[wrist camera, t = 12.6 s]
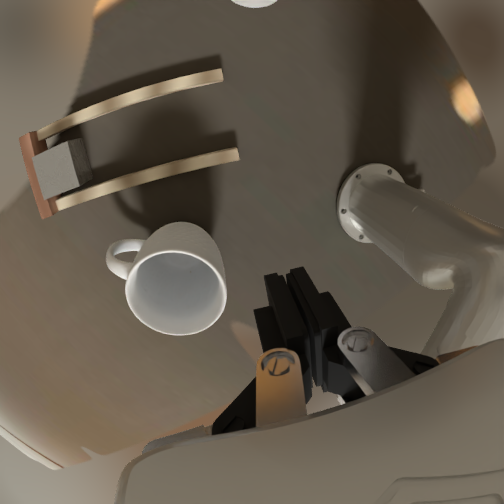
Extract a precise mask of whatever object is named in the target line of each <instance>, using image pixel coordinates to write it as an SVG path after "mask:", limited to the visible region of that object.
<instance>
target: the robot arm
mask: <svg viewBox="0 0 504 504" xmlns="http://www.w3.org/2000/svg"><path fill="white" fill-rule="evenodd" d="M356 175H357V177H356ZM342 209H343V210H342ZM341 210H342V211H341ZM337 216H338V220H339V222H340V224H341V226H342V228H343V229H344V231H345V232H346V233H347V234H348V235H349V236H351V237H352V238H353V239H355V240H357V241H359V242H364V243H374V244H376V245H377V246H378V247H379V248H380V249H381V250H382V251H384V252H385V253H386V254H387V255H388V256H389V257H390V258H392V259H393V260H394V261H395V262H396V263H397V264H398V265H399V266H400V267H401V268H403V269H404V270H405V271H406V272H407V273H408V274H409V275H410V276H411V277H412V278H413V279H414V280H416V281H417V282H418V283H420V284H421V285H423V286H425V287H428V288H431V289H439V290H442V289H450V288H453V291H452V294H451V296H450V298H449V300H448V302H447V306H446V308H445V310H444V312H443V314H442V316H441V318H440V320H439V321H438V323H437V325H436V327H435V329H434V331H433V332H432V334H431V336H430V338H429V339H428V341H427V343H426V344H425V346H424V348H423V350H422V352H421V354H418V353H413V352H409V351H405V350H401V349H397V348H392V347H389V346H387V345H386V344H385V343H384V342H383V341H382V340H381V339H380V338H379V337H378V336H377V335H376V333H375V332H373V331H372V330H371V329H368V328H365V327H351V325H350V324H349V322H348V321H347V319H346V317H345V316H344V314H343V313H342V311H341V309H340V308H339V306H338V305H337V303H336V302H335V300H334V298H333V297H332V295H331V294H330V293H329V292H328V291H327V292H324V293H320V294H319V292H318V290H317V289H316V287H315V285H314V284H313V282H312V280H311V279H310V277H309V275H308V274H307V272H306V270H305V269H304V267H299V268H294V269H290V273H288V274H286V279H287V283H286V281H285V279H284V277H283V275H280V276H278V274H277V273H273V274H269V275H264V280H265V285H266V290H267V296H268V301H269V306H267V307H263V308H258V309H254V315H255V319H256V323H257V328H258V332H259V336H260V340H261V345H262V349H263V355H261V356H260V357H259V359H258V361H257V364H256V377H255V378H254V379H253V380H252V381H251V383H250V384H249V385H248V386H247V387H246V388H245V389H244V390H243V391H242V392H241V393H240V395H239V396H238V397H237V398H236V399H235V400H234V401H233V402H232V403H231V404H230V405H229V406H228V407H227V408H226V410H224V412H223V413H222V414H221V415H220V416H219V417H218V418H217V419H216V420H215V422H214V423H213V425H210V426H207V427H204V426H203V425H202V426H199V427H196V428H193V429H189V430H186V431H183V432H180V433H177V434H173V435H170V436H166V437H163V438H159V439H156V440H153V441H151V442H149V443H148V444H147V445H146V446H145V447H144V450H143V451H142V455H140V456H138V457H137V458H135V459H133V460H132V461H131V462H130V463H128V464H127V466H126V467H125V468H124V470H123V471H122V473H121V476H120V478H119V481H118V485H117V490H116V494H115V501H114V504H504V228H501V227H498V226H495V225H493V224H491V223H488V222H485V221H483V220H480V219H478V218H476V217H474V216H472V215H470V214H468V213H466V212H464V211H462V210H460V209H458V208H455V207H454V206H452V205H450V204H448V203H446V202H444V201H442V200H439V199H437V198H435V197H433V196H431V195H429V194H427V193H425V191H424V189H423V188H421V189H416V188H414V187H411V186H409V185H407V184H405V182H404V180H403V178H402V177H401V175H400V174H399V173H398V172H397V171H396V170H395V169H393V168H392V167H390V166H387V165H385V164H381V163H369V164H365V165H363V166H360V167H359V168H357V169H355V170H354V171H353V172H352V173H351V174H350V175H349V176H348V177H347V178H346V180H345V181H344V182H343V184H342V186H341V188H340V191H339V194H338V198H337ZM312 377H313V380H314V382H315V385H316V386H321V387H322V390H323V392H327V391H328V392H332V393H334V394H336V397H337V400H338V402H339V403H340V405H339V406H336V407H333V408H330V409H326V410H323V411H320V412H316V413H313V414H309V415H307V410H306V404H307V403H308V401H309V400H310V398H311V397H312V389H311V388H312V387H313V385H312V384H313V383H312Z"/></svg>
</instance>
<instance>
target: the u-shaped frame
mask: <svg viewBox="0 0 504 504" xmlns="http://www.w3.org/2000/svg"><path fill="white" fill-rule="evenodd" d="M223 80H224V79H223V74H222V69H216V70H210V71H206V72H201V73H196V74H192V75H188V76H183V77H179V78H175V79H171V80H168V81H164V82H160V83H157V84H153V85H150V86H147V87H143V88H140V89H137V90H134V91H131V92H128V93H125V94H122V95H119V96H116V97H113V98H111V99H108V100H105V101H103V102H100V103H97V104H95V105H92V106H90V107H87V108H85V109H83V110H80V111H78V112H76V113H73V114H71V115H69V116H66V117H64V118H62V119H60V120H58V121H56V122H54V123H52V124H50V125H48V126H46V127H43V128H41V129H40V130H38V131H34V132H29V133H27V134H25V135H24V136H22V137H20V138H19V141H20V146H21V150H22V154H23V158H24V162H25V166H26V170H27V173H28V177H29V180H30V184H31V187H32V190H33V194H34V197H35V200H36V203H37V206H38V209H39V212H40V215H41V218H42V219H44V218H47V217H50V216H52V215H54V214H55V213H56V212H58V211H59V210H62V209H65V208H68V207H71V206H73V205H76V204H79V203H82V202H85V201H88V200H91V199H94V198H97V197H100V196H103V195H106V194H109V193H112V192H116V191H119V190H122V189H126V188H129V187H132V186H136V185H139V184H143V183H146V182H150V181H153V180H157V179H161V178H164V177H168V176H172V175H176V174H180V173H184V172H188V171H192V170H196V169H200V168H205V167H209V166H213V165H218V164H222V163H227V162H232V161H237V160H239V155H238V150H237V148H236V147H233V148H228V149H224V150H219V151H215V152H210V153H206V154H201V155H197V156H193V157H189V158H185V159H181V160H177V161H173V162H169V163H165V164H162V165H158V166H154V167H151V168H147V169H144V170H140V171H137V172H134V173H130V174H127V175H124V176H121V177H118V178H114V179H111V180H108V181H105V182H102V183H99V184H96V185H93V186H90V187H88V188H85V189H82V190H79V191H76V192H74V193H71V194H68V195H66V196H63V197H61V194H58V195H56V196H53V197H51V198H48V199H46V200H44V198H43V195H42V192H41V189H40V185H39V182H38V179H37V175H36V172H35V168H34V164H33V161H32V157H34V156H36V155H38V154H40V153H42V152H44V151H46V150H48V148H47V144H46V140H45V139H47V138H50V137H52V136H54V135H56V134H58V133H60V132H63V131H65V130H67V129H69V128H72V127H74V126H76V125H79V124H81V123H83V122H86V121H88V120H91V119H93V118H96V117H99V116H101V115H104V114H107V113H109V112H112V111H115V110H118V109H121V108H124V107H127V106H130V105H133V104H136V103H139V102H142V101H145V100H149V99H152V98H156V97H159V96H163V95H166V94H170V93H174V92H178V91H182V90H186V89H190V88H194V87H199V86H203V85H208V84H213V83H218V82H223Z"/></svg>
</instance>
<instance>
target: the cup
mask: <svg viewBox="0 0 504 504" xmlns="http://www.w3.org/2000/svg"><path fill="white" fill-rule="evenodd" d="M232 1H233V2H235V3H237V4H239V5H242V6H245V7H251V8H260V7H265V6H268V5H271V4H273V3H274V2H276V1H277V0H232Z"/></svg>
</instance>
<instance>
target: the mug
mask: <svg viewBox="0 0 504 504" xmlns="http://www.w3.org/2000/svg"><path fill="white" fill-rule="evenodd" d="M125 251H138V253H137V256H136V257H135V260H134V262H133V263H129V262H124V261H120V260H118V259H116V258H115V257H114V255H116V254H118V253H120V252H125ZM106 263H107V266H108V268H109V269H110V270H111V271H112V272H113V273H114V274H116V275H117V276H119V277H121V278H123V279H126V285H125V293H126V298H127V302H128V304H129V307H130V308H131V310H132V312H133V313H134V314H135V316H136V317H137V318H138V319H139V320H140V321H141V322H142V323H144V324H145V325H147V326H148V327H150V328H152V329H154V330H156V331H158V332H161V333H165V334H170V335H189V334H194V333H198V332H200V331H203V330H205V329H206V328H208V327H210V326H211V325H212V324H213V323H214V322H215V321H216V320H217V319H218V318H219V317H220V315H221V314H222V312H223V310H224V308H225V304H226V299H227V289H226V277H225V270H224V265H223V260H222V258H221V253H220V252H219V249H218V247H217V246H216V243H215V242H214V241H213V239H212V237H210V235H209V234H208V233H207V232H206V231H205V230H204V229H202V228H201V227H199V226H197V225H195V224H192V223H187V222H175V223H171V224H167V225H165V226H163V227H161V228H160V229H158V230H156V231H155V232H154V233H153V234H152V235H151V236H150V237H149V238H148V239H147V240H141V239H125V240H120V241H117V242H115V243H113V244H112V245H111V246H110V247H109V248H108V251H107V254H106Z"/></svg>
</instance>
